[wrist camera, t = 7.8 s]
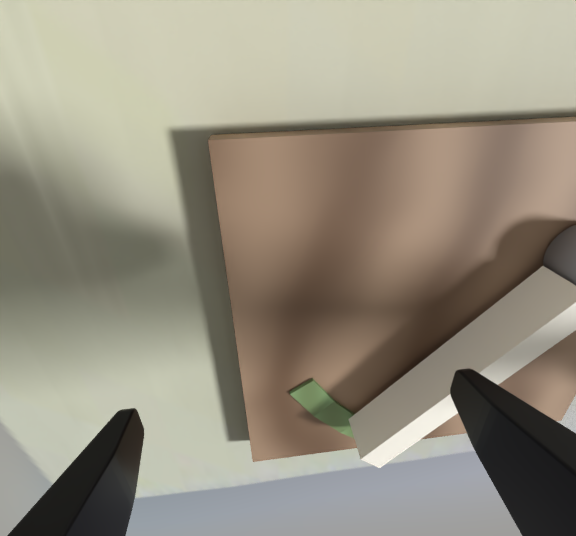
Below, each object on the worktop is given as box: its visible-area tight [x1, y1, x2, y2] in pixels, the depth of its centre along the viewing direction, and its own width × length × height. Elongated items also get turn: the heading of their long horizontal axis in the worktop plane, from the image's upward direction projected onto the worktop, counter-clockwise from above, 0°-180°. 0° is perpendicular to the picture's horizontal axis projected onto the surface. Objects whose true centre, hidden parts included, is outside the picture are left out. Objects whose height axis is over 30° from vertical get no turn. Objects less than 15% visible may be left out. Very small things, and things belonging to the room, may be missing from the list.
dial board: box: [208, 117, 576, 462], centre depth 19 cm, size 22×20×2 cm
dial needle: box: [348, 225, 576, 468], centre depth 17 cm, size 16×3×3 cm, turn 139°
